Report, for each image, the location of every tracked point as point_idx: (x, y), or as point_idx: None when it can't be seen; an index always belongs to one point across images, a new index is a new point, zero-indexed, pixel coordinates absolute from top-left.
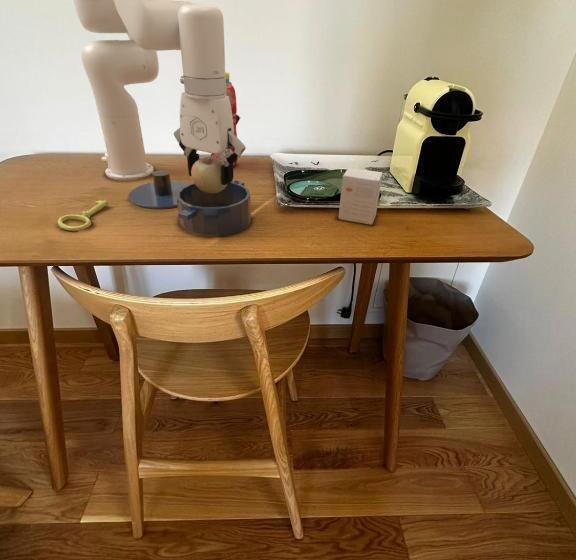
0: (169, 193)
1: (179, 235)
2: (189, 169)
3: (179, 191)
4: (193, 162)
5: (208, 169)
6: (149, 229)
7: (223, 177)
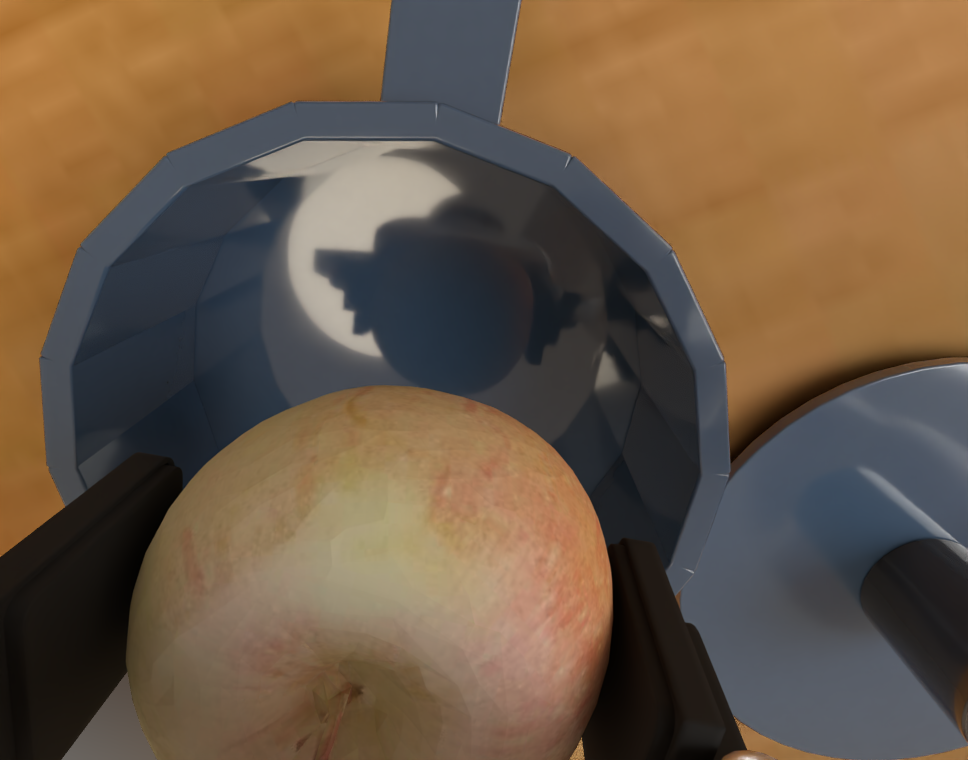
0: (871, 579)
1: (553, 74)
2: (652, 587)
3: (710, 399)
4: (626, 703)
5: (259, 530)
6: (812, 80)
7: (89, 496)
